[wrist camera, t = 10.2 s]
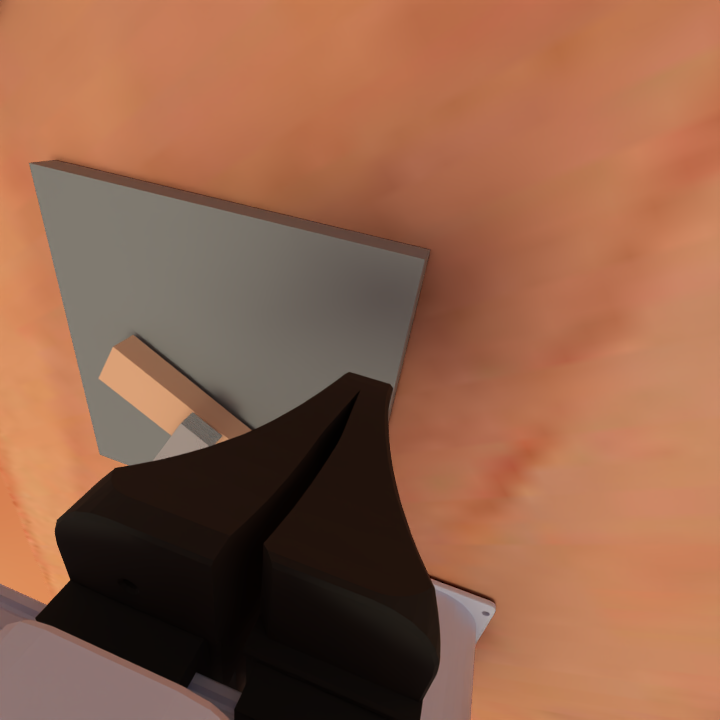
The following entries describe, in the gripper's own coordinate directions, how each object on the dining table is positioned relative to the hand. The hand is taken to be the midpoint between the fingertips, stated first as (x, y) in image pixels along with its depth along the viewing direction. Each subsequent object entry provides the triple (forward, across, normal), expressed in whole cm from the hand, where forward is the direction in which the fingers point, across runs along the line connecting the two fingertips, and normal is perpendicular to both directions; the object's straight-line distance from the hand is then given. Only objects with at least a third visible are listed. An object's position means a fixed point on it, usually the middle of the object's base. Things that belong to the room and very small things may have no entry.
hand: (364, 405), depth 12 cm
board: (+9, +10, +8) cm, 16 cm away
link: (+8, +9, +11) cm, 16 cm away
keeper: (+8, +10, +11) cm, 17 cm away
